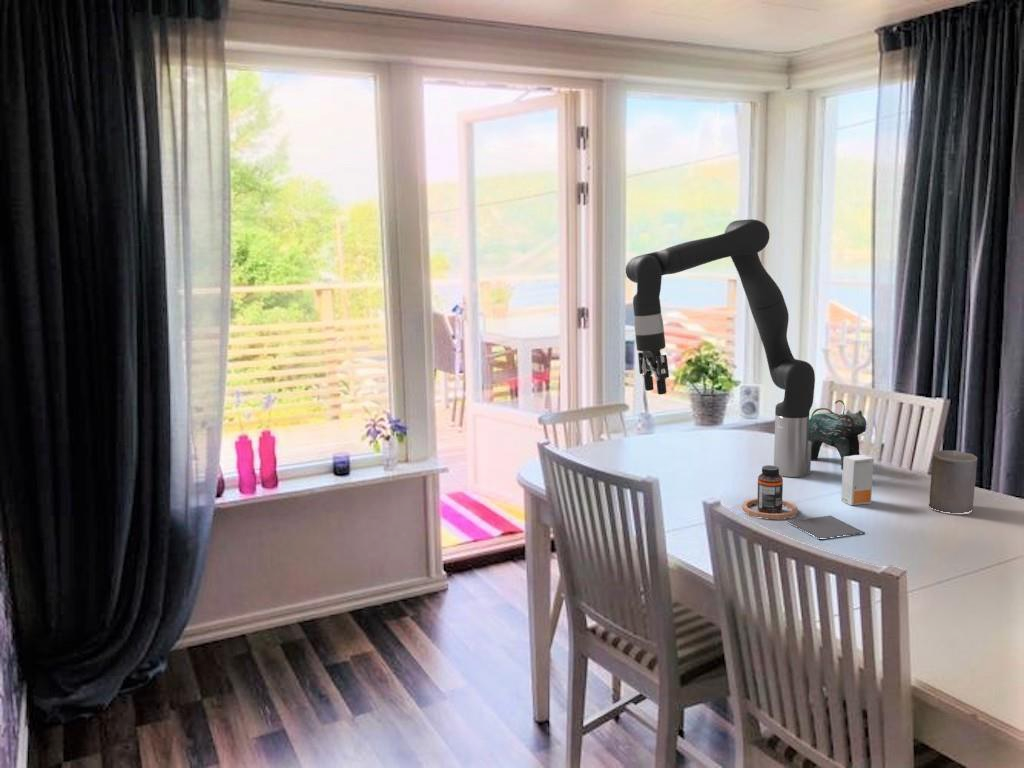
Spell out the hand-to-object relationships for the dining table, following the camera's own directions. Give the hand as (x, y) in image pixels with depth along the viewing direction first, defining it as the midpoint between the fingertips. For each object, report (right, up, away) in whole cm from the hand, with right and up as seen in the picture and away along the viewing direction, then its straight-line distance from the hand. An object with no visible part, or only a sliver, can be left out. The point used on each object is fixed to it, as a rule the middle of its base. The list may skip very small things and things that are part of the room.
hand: (655, 392), depth 212 cm
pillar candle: (+70, -29, -15) cm, 78 cm away
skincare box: (+50, -28, -8) cm, 58 cm away
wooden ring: (+26, -30, -13) cm, 42 cm away
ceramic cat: (+57, -22, +25) cm, 66 cm away
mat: (+35, -32, -26) cm, 54 cm away
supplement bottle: (+26, -30, -13) cm, 42 cm away
